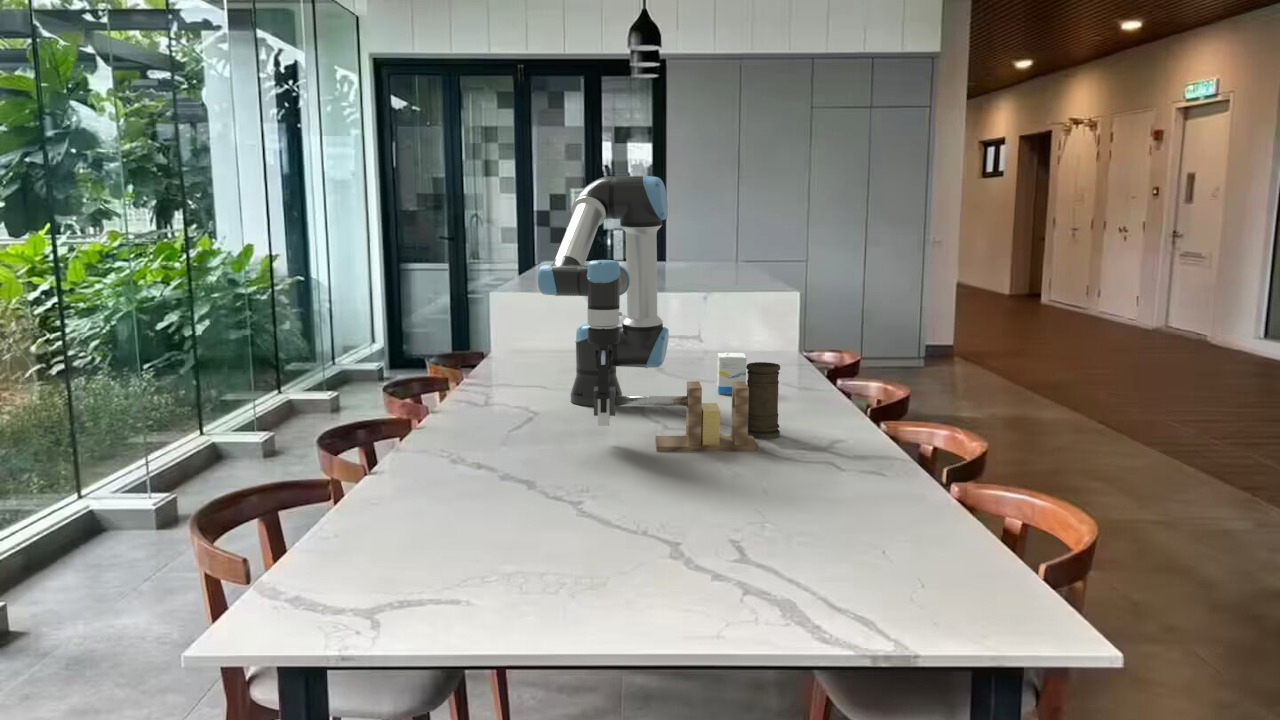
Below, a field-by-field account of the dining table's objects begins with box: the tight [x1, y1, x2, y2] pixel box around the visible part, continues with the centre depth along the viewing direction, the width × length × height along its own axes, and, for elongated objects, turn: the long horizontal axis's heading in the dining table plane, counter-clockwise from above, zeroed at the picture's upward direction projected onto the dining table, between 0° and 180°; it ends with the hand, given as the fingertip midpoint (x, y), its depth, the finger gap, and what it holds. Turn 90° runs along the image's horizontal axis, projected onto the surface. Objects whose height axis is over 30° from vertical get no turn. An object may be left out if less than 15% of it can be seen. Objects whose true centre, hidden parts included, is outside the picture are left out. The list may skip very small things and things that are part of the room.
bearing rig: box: [654, 380, 760, 452], centre depth 221 cm, size 24×10×15 cm, turn 91°
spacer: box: [701, 402, 721, 446], centre depth 221 cm, size 4×8×8 cm, turn 1°
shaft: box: [593, 387, 688, 417], centre depth 220 cm, size 24×5×6 cm, turn 91°
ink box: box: [716, 352, 747, 396], centre depth 283 cm, size 9×8×12 cm
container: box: [746, 361, 781, 440], centre depth 231 cm, size 9×9×18 cm
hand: (604, 421), depth 221 cm, fingers open, 7 cm apart
